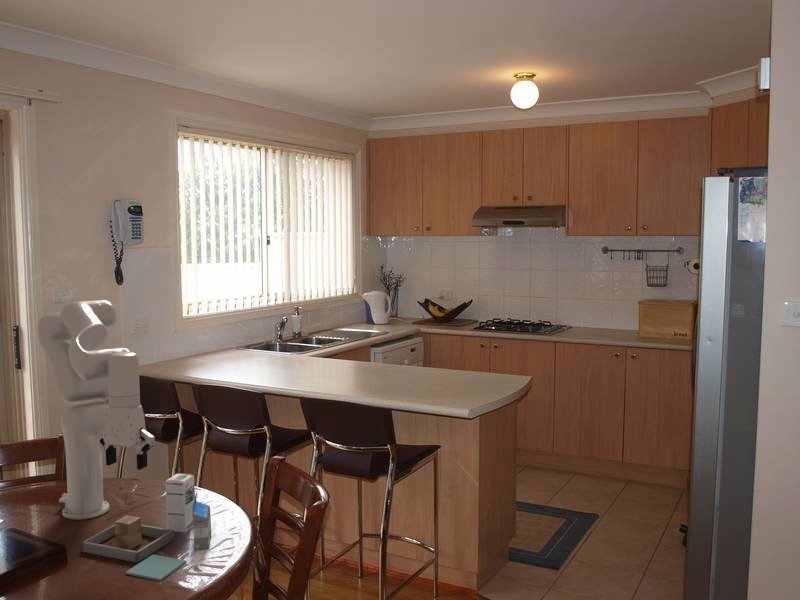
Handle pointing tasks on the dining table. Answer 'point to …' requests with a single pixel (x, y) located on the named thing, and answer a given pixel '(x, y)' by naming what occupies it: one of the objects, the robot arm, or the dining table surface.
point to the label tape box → (201, 525)
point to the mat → (156, 567)
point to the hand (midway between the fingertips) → (126, 466)
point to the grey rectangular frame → (135, 556)
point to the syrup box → (180, 502)
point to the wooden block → (128, 532)
